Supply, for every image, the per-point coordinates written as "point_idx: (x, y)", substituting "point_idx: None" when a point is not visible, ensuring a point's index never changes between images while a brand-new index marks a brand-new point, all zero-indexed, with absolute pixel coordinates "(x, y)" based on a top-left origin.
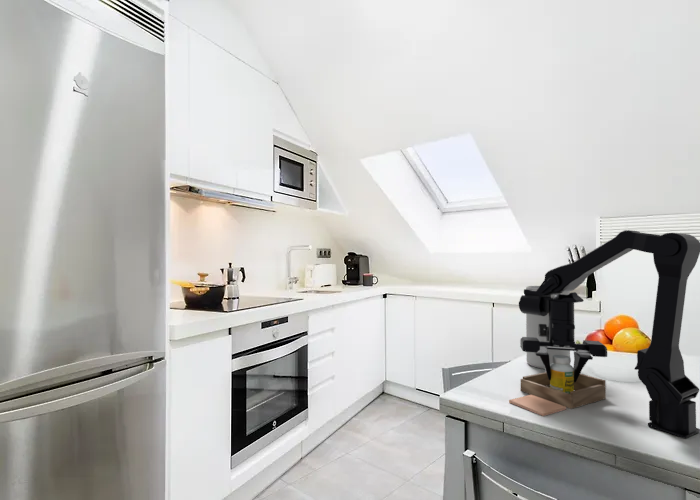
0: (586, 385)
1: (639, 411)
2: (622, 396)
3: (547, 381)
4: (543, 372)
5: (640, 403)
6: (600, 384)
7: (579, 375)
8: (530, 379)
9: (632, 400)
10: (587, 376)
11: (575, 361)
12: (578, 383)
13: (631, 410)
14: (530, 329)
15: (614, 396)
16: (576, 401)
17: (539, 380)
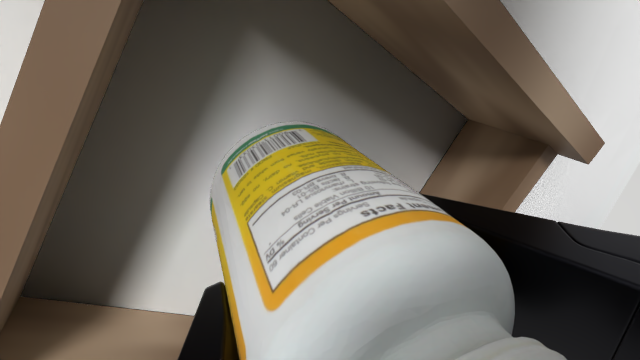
0: (464, 87)
1: (542, 193)
2: (576, 5)
3: (132, 15)
4: (44, 20)
5: (592, 85)
6: (545, 156)
7: (491, 64)
8: (1, 315)
9: (585, 56)
10: (539, 107)
11: (619, 343)
12: (423, 51)
13: (523, 201)
14: None
15: (541, 31)
16: None
17: (68, 157)
